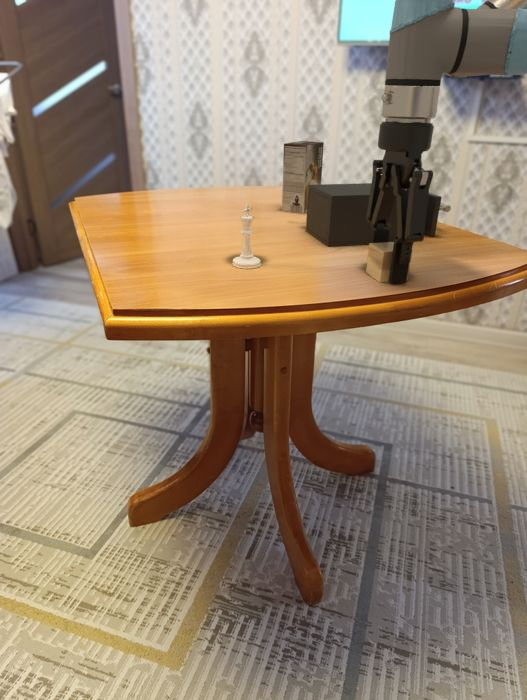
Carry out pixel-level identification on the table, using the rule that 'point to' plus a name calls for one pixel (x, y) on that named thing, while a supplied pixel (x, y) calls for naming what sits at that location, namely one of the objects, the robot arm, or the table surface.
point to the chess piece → (246, 244)
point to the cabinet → (342, 214)
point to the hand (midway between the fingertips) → (386, 274)
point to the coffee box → (300, 173)
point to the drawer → (433, 213)
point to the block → (380, 261)
